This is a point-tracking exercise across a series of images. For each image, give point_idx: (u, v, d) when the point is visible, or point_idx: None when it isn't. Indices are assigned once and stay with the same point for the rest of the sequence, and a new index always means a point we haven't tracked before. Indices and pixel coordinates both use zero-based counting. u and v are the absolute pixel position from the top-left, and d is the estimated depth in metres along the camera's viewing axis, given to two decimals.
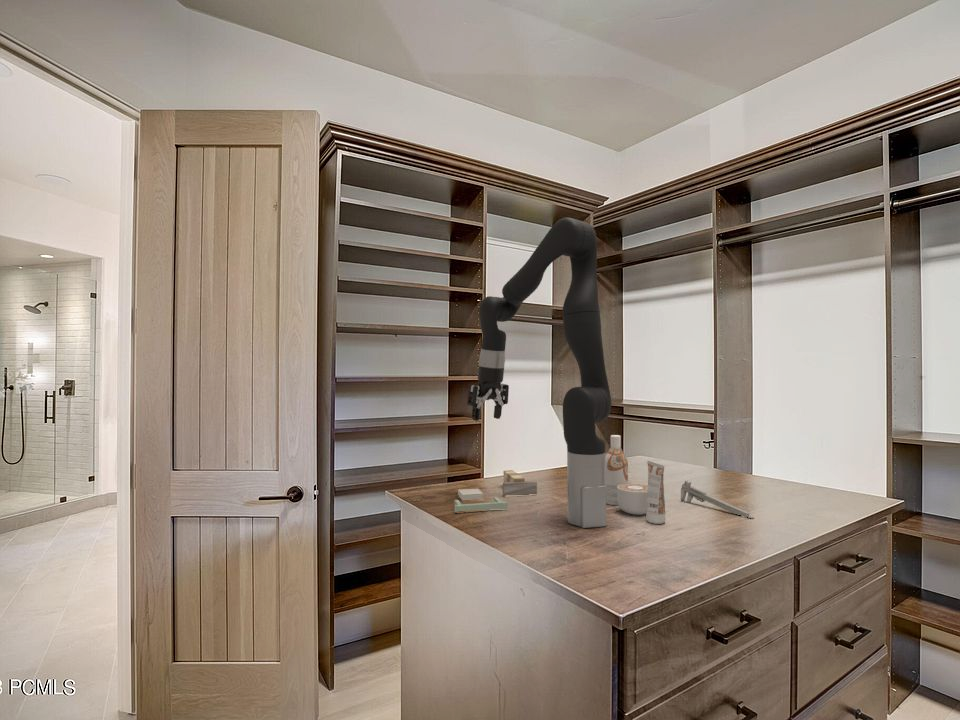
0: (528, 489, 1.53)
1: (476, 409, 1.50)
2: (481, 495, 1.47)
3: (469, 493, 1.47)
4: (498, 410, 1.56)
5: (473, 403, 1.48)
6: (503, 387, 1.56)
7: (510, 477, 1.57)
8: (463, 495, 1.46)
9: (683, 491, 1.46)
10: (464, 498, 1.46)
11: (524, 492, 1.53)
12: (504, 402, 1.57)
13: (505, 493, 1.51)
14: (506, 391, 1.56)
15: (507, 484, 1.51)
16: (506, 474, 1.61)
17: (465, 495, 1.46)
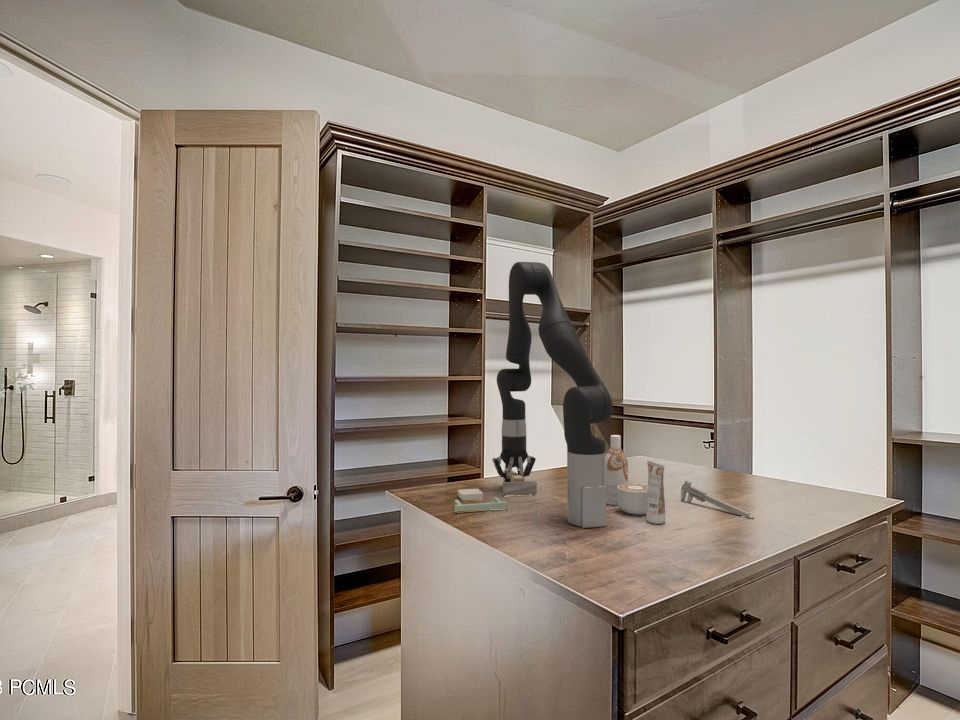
0: (528, 489, 1.53)
1: (506, 480, 1.57)
2: (481, 495, 1.47)
3: (469, 493, 1.47)
4: None
5: (501, 474, 1.57)
6: (530, 458, 1.59)
7: (510, 477, 1.57)
8: (463, 495, 1.46)
9: (683, 491, 1.46)
10: (464, 498, 1.46)
11: (524, 492, 1.53)
12: (525, 474, 1.59)
13: (505, 493, 1.51)
14: (531, 463, 1.59)
15: (507, 484, 1.51)
16: None
17: (465, 495, 1.46)
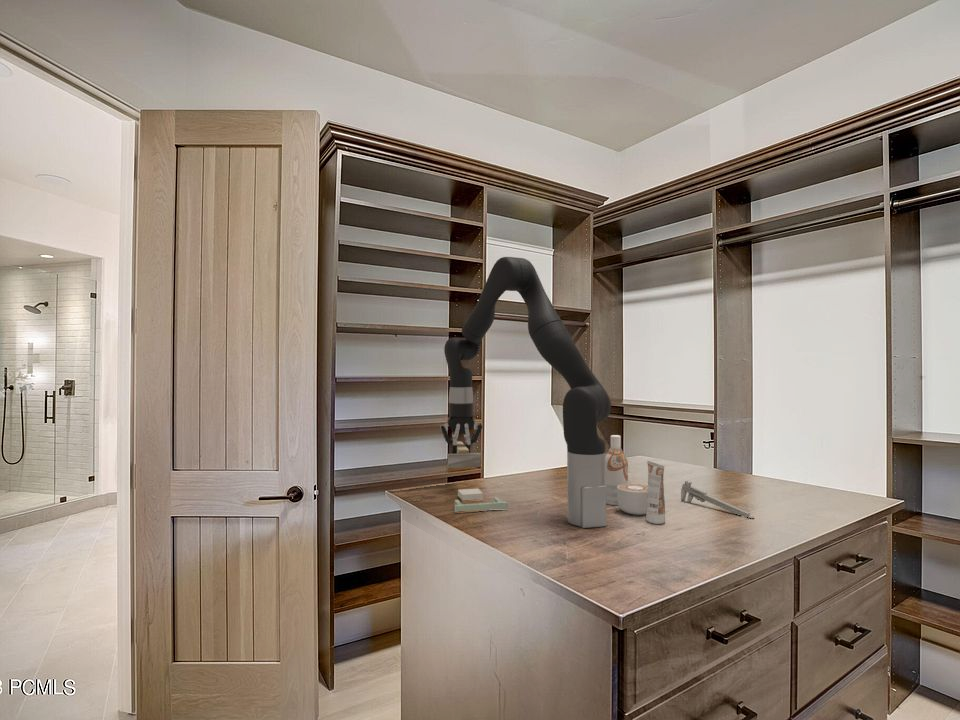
0: (472, 460, 1.57)
1: (453, 446, 1.61)
2: (481, 495, 1.47)
3: (469, 493, 1.47)
4: None
5: (448, 440, 1.60)
6: (476, 426, 1.63)
7: None
8: (463, 495, 1.46)
9: (684, 491, 1.46)
10: (464, 498, 1.46)
11: (468, 463, 1.57)
12: (472, 440, 1.62)
13: (449, 464, 1.56)
14: (477, 430, 1.63)
15: (451, 455, 1.56)
16: None
17: (465, 495, 1.46)
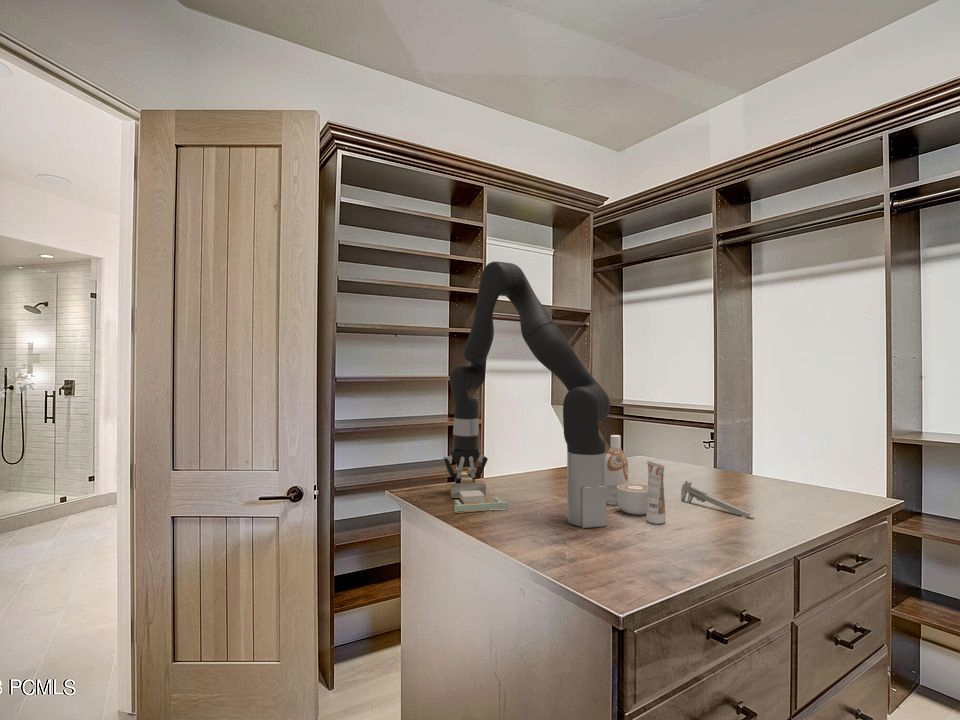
0: None
1: (457, 479, 1.54)
2: (482, 497, 1.45)
3: (470, 495, 1.45)
4: None
5: (451, 474, 1.53)
6: (482, 458, 1.56)
7: (460, 478, 1.55)
8: (464, 497, 1.43)
9: (684, 491, 1.45)
10: (465, 500, 1.44)
11: None
12: (477, 474, 1.55)
13: (452, 494, 1.49)
14: (483, 463, 1.55)
15: (455, 485, 1.49)
16: None
17: (466, 497, 1.44)
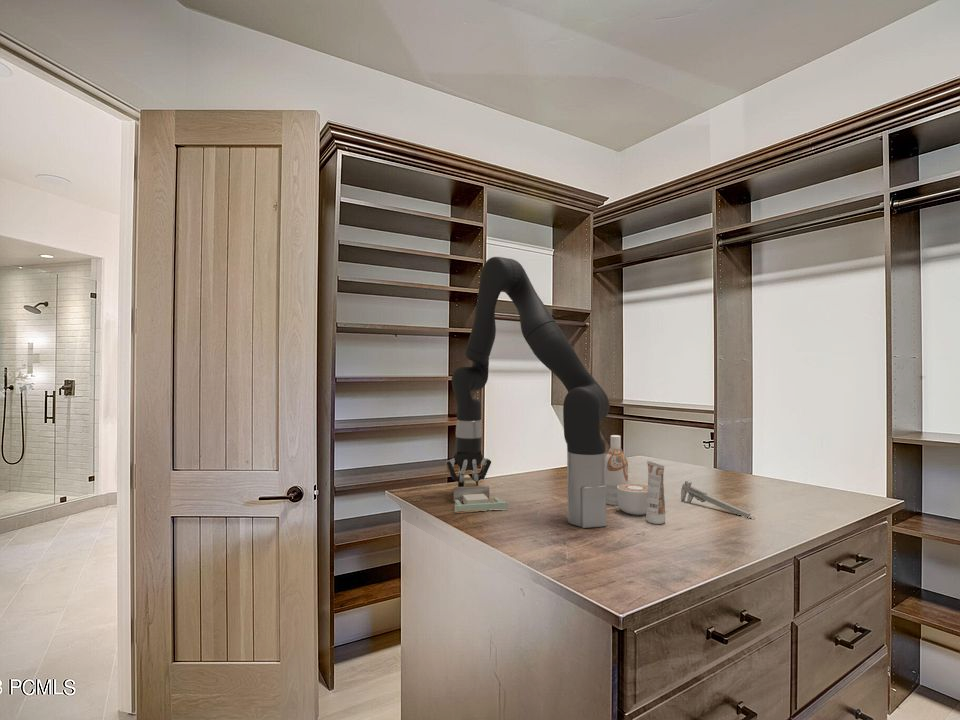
0: None
1: (460, 483, 1.50)
2: (487, 501, 1.41)
3: (474, 499, 1.41)
4: None
5: (454, 477, 1.49)
6: (485, 461, 1.52)
7: None
8: (468, 501, 1.40)
9: (684, 491, 1.45)
10: None
11: None
12: (480, 477, 1.51)
13: (455, 498, 1.45)
14: (486, 466, 1.51)
15: (457, 489, 1.45)
16: None
17: (470, 501, 1.40)
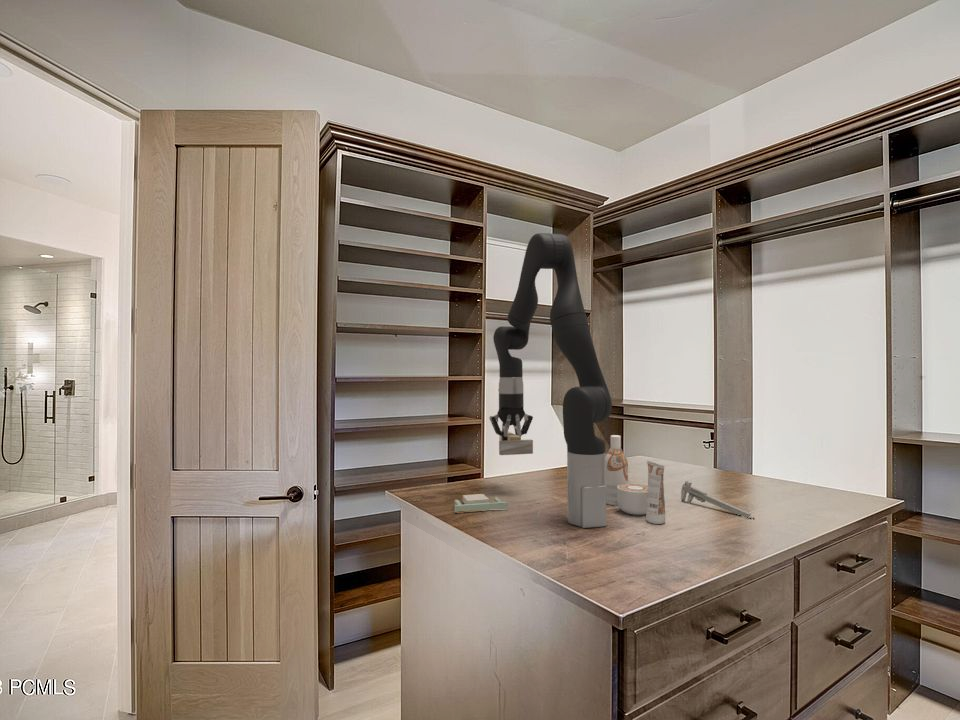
0: (524, 447, 1.54)
1: (504, 438, 1.57)
2: (487, 501, 1.41)
3: (474, 499, 1.41)
4: None
5: (498, 432, 1.56)
6: (527, 417, 1.59)
7: None
8: (468, 501, 1.39)
9: (684, 491, 1.45)
10: None
11: (520, 450, 1.53)
12: (523, 432, 1.58)
13: (501, 451, 1.52)
14: (528, 421, 1.58)
15: (503, 442, 1.52)
16: None
17: (470, 501, 1.40)
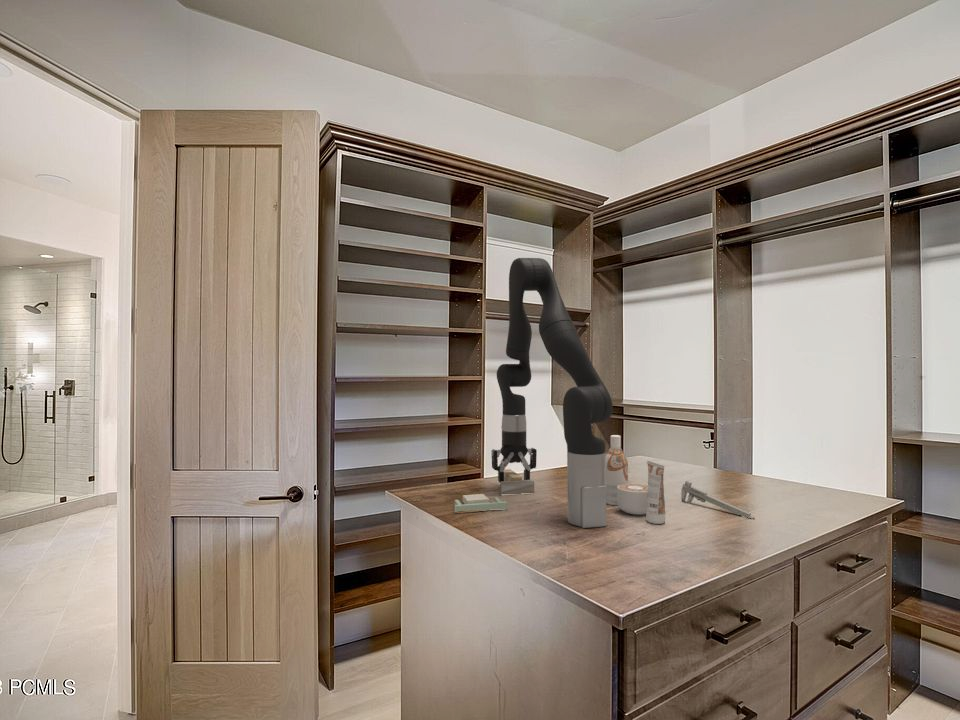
0: (525, 488, 1.54)
1: (500, 473, 1.57)
2: (487, 501, 1.41)
3: (474, 499, 1.41)
4: (525, 474, 1.59)
5: (494, 467, 1.56)
6: (531, 451, 1.59)
7: (508, 476, 1.59)
8: (468, 501, 1.39)
9: (684, 491, 1.45)
10: None
11: (522, 491, 1.54)
12: (532, 466, 1.59)
13: (503, 492, 1.53)
14: (533, 455, 1.59)
15: (505, 483, 1.53)
16: (504, 473, 1.63)
17: (470, 501, 1.40)
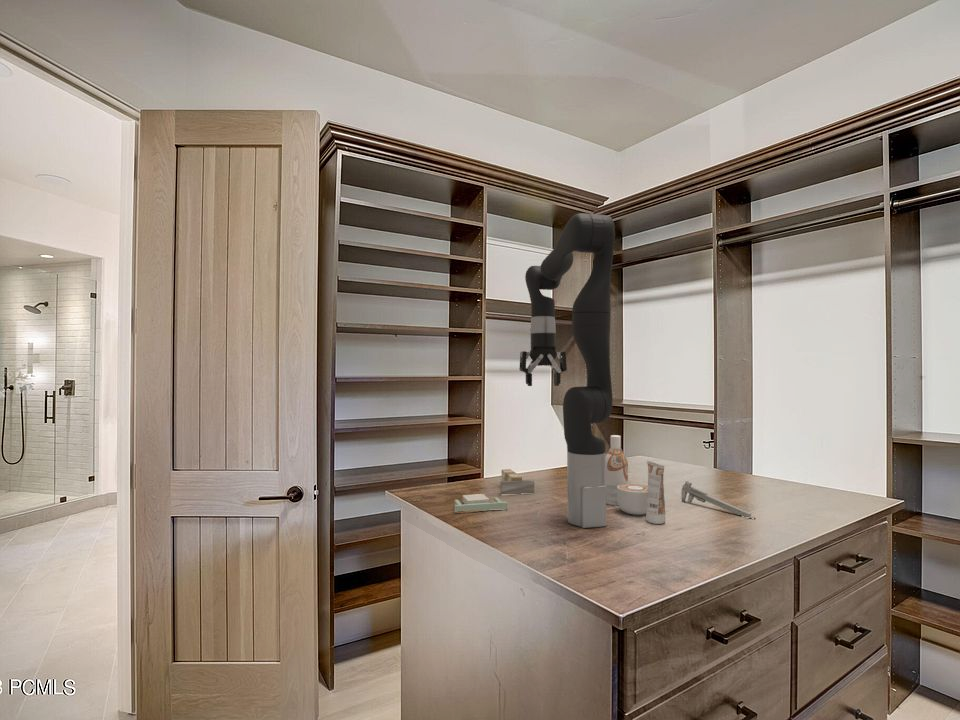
0: (525, 488, 1.54)
1: (528, 374, 1.55)
2: (487, 501, 1.41)
3: (475, 499, 1.41)
4: (556, 377, 1.57)
5: (522, 368, 1.54)
6: (560, 354, 1.58)
7: (508, 476, 1.59)
8: (469, 501, 1.39)
9: (684, 491, 1.45)
10: None
11: (522, 491, 1.54)
12: (562, 369, 1.57)
13: (503, 492, 1.53)
14: (563, 358, 1.57)
15: (505, 483, 1.53)
16: (504, 473, 1.63)
17: (471, 501, 1.40)
